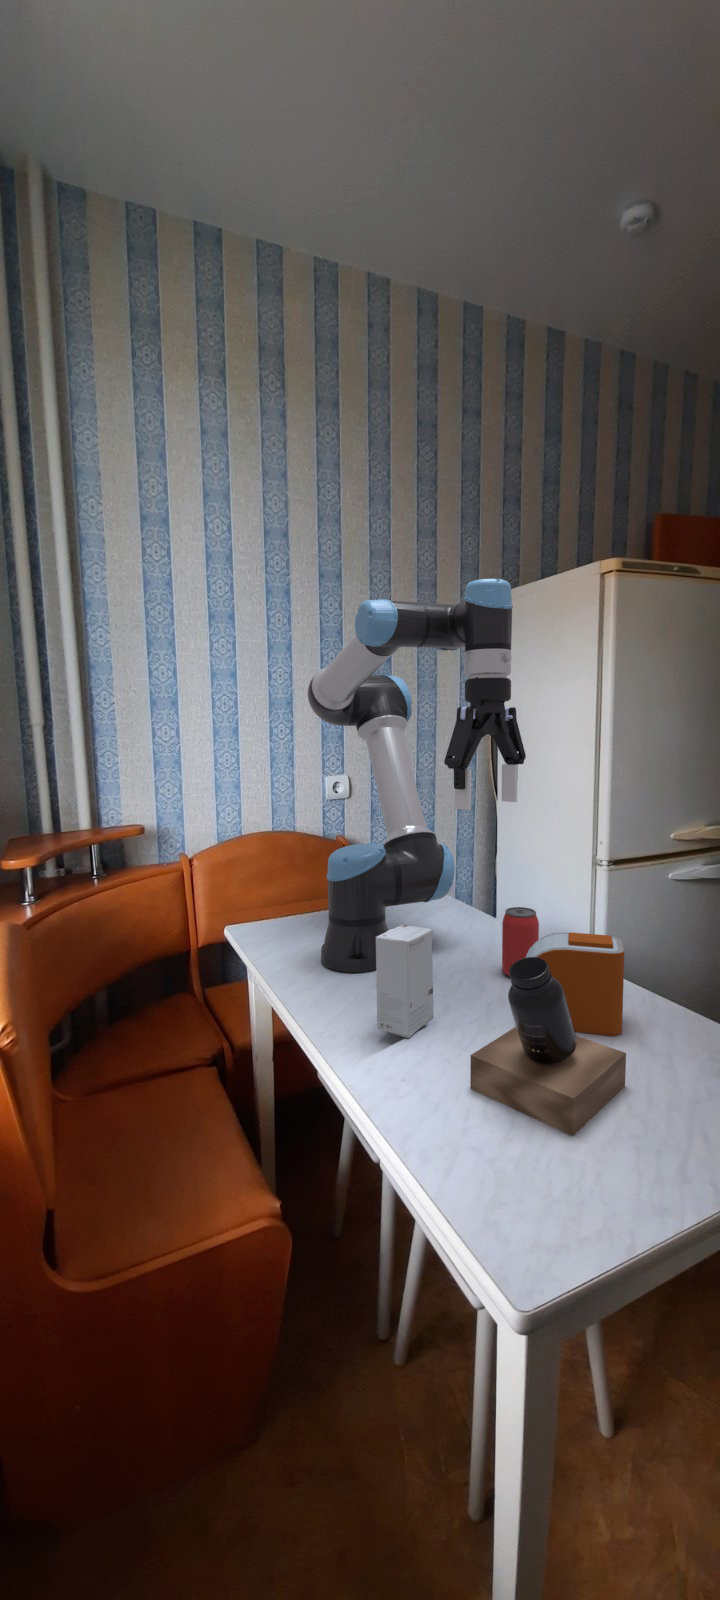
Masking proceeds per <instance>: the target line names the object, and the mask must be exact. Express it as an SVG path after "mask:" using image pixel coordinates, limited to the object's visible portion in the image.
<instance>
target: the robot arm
mask: <svg viewBox="0 0 720 1600" xmlns="http://www.w3.org/2000/svg"><path fill="white" fill-rule="evenodd" d="M464 589H465V590H464V596H463V600H464V601H461V602H458V603H452V604H449V603H438V602H437V603H433V602H417V601H402V600H389V599H385V598H382V599H367V600H364V601H361V603H360V605H359V606H358V608H357V612H356V614H355V618H354V632H355V634H353V636H352V637H351V639H350V640H349V641H348V642H347V643H346V644H345V646H344V647H343V648H342V649H341V650H340V652H338V654H337V655H336V656H335V658H334V659H333V660H332V661H331V662H330V664H329V665H328V666H326V667H324V668H321V669H320V670H318V671H317V672H316V673H315V674H314V676H313V677H312V679H311V680H310V682H309V685H308V687H307V688H308V689H307V698H308V699H307V700H308V703H309V706H310V708H311V709H312V711H313V713H314V714H316V716H317V717H318V718H320V719H321V720H322V721H323V722H326V723H328V724H331V725H332V726H333V725H334V726H339V727H343V726H345V727H346V726H347V727H356V731H357V736H358V737H359V738H360V739H361V740H363V741H365V742H366V747H367V750H368V755H369V759H370V764H371V768H372V772H373V777H374V781H375V785H376V791H377V795H378V799H379V803H380V808H381V812H382V817H383V822H384V825H385V830H386V834H387V838H386V839H385V841H384V842H383V844H381V843H377V842H376V843H375V842H367V843H364V842H363V843H356V844H350V845H347V846H343V847H340V848H338V849H335V851H333V852H332V853H330V854H329V857H328V861H327V871H326V872H327V873H326V879H327V898H328V900H327V901H328V925H327V929H326V932H325V937H324V941H323V942H324V943H323V944H322V946H321V949H320V958H321V959H320V962H321V961H322V962H321V963H322V964H323V965H324V966H325V967H327V968H328V969H332V970H333V971H339V972H343V973H344V972H345V973H367V972H374V971H376V937H377V936H379V935H381V934H383V933H385V932H387V931H388V930H389V929H388V926H387V922H386V919H387V918H386V909H387V907H393V906H394V907H395V906H401V905H403V906H404V905H409V904H410V905H411V904H418V903H429V902H431V901H436V900H440V899H443V898H445V897H446V896H447V895H448V894H449V892H450V890H451V888H452V886H453V882H454V879H455V861H454V859H455V858H454V856H453V853H452V851H451V849H450V848H449V847H448V846H447V845H446V844H443V843H438V839H437V835H436V833H435V831H432V830H431V829H429V828H428V827H427V825H426V820H425V817H424V812H423V809H422V803H421V801H420V800H421V799H420V795H419V793H418V788H417V785H416V781H415V780H416V779H415V776H414V773H413V768H412V764H411V761H410V756H409V752H408V747H407V743H406V739H405V737H404V733H403V732H405V730H406V729H407V727H408V723H409V721H410V719H411V716H412V712H413V707H412V704H413V700H412V695H411V691H410V688H409V687H408V685H407V683H406V682H405V681H404V680H403V679H402V678H400V677H399V676H396V675H389V674H388V675H387V674H383V673H381V674H376V675H375V674H374V673H375V672H376V671H377V670H378V669H379V668H380V667H381V666H382V665H383V664H384V663H386V661H387V660H388V659H389V658H390V657H391V656H392V655H393V654H394V653H395V652H396V651H398V649H400V648H403V647H404V648H431V649H436V650H438V651H442V652H443V651H446V652H447V651H457V650H458V649H461V648H464V676H465V677H467V679H466V680H465V681H464V701H465V702H467V703H470V705H469V706H459V707H457V708H456V720H455V723H454V724H455V725H454V728H453V731H452V735H451V737H450V741H449V744H448V748H447V751H446V754H445V758H444V760H443V761H444V765H445V766H447V769H448V770H449V769H450V770H451V769H452V770H453V788H454V810H460V811H461V810H463V811H471V810H472V769H469V765H470V764H471V761H472V759H473V757H474V756H475V753H476V751H477V749H478V747H479V744H480V742H481V740H482V738H484V737H486V735H489V736H491V737H492V738H493V740H494V742H495V745H496V747H497V749H498V750H499V753H500V754H501V757H502V759H503V762H504V763H505V764H503V763H502V764H501V802H508V803H517V802H518V779H519V777H518V773H519V771H518V770H519V769H518V767H519V765H524V762H525V760H526V758H527V755H526V751H525V746H524V744H523V741H522V736H521V732H520V731H521V730H520V728H519V724H518V721H517V719H518V718H517V708H516V707H515V706H513V707H506V706H505V703H506V702H509V701H511V699H512V680H511V679H510V678H508V676H510V675H511V673H512V631H513V630H512V629H513V607H514V605H513V602H512V600H513V599H512V586H511V583H510V582H509V581H507V580H504V579H500V578H483V579H482V578H481V579H475V580H472V581H470V582H468V583H467V584H466V587H465V588H464ZM373 674H374V675H373Z"/></svg>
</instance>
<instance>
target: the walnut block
mask: <svg viewBox="0 0 720 1600" xmlns="http://www.w3.org/2000/svg"><path fill="white" fill-rule="evenodd" d="M576 1039H577V1046H576V1049H575V1051H574V1053H573V1054H572V1055H571V1056H570V1057H569V1058H568V1059H566V1060H564V1061H562V1062H559V1063H556V1064H541V1063H537V1062H535V1061H533V1060H531V1059H530V1058H529V1057H528V1056H527V1055H526V1054H525V1052H524V1050H523V1047H522V1044H521V1041H520V1037H519V1034H518V1031H517V1027H516V1026H515V1027H513V1028H511V1029H510V1030H509V1031H507V1032H505V1033H503V1034H501V1036H498V1037H497V1038H496V1039H494V1040H493V1041H491V1042H489V1043H488V1044H486V1045H484V1046H482V1047H481V1048H480V1049H478V1050H477V1051H475V1052H474V1053H471V1054H470V1073H469V1074H470V1077H469V1078H470V1081H469V1082H470V1087H469V1088H470V1090H473V1091H474V1092H477V1093H479V1094H482V1095H484V1096H486V1097H488V1098H490V1099H492V1100H494V1101H496V1102H498V1103H500V1104H503V1105H505V1106H507V1107H509V1108H512V1109H513V1110H515V1111H518V1112H521V1113H522V1114H525V1115H527V1116H529V1117H531V1118H533V1119H535V1120H538V1121H539V1122H542V1123H544V1124H546V1125H547V1126H551V1127H553V1128H555V1129H557V1130H558V1131H560V1132H561V1131H562V1132H563V1133H565V1134H568V1135H570V1136H572V1137H574V1136H575V1135H576V1134H577V1133H578V1132H579V1131H580V1130H581V1129H582V1128H583V1127H584V1126H585V1125H586V1124H587V1123H588V1122H589V1121H590V1120H592V1118H593V1117H595V1116H596V1114H598V1113H599V1112H600V1111H601V1109H603V1108H604V1107H605V1106H606V1105H608V1104H609V1102H610V1101H611V1100H612V1099H613V1098H614V1097H616V1095H618V1094H619V1093H620V1092H621V1090H623V1089H624V1088H625V1087H626V1069H627V1068H626V1066H627V1053H626V1052H624V1051H622V1050H619V1049H616V1048H613V1047H610V1046H607V1045H605V1044H601V1043H598V1042H596V1041H593V1040H590V1039H587V1038H584V1037H582V1036H578V1035H576Z"/></svg>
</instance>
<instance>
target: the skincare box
mask: <svg viewBox="0 0 720 1600" xmlns="http://www.w3.org/2000/svg"><path fill="white" fill-rule="evenodd" d="M433 969H434V967H433V929H432V928H427V927H420V926H414V925H405V924H401V925H398V926H397V927H394V928H391V929H388V931H387V932H385V933H383V934H381V935H379V936H377V937H376V970H375V971H376V972H375V973H376V1015H377V1016H376V1017H377V1019H376V1025H377V1030H380V1031H384V1032H387V1033H391V1034H394V1035H396V1036H399V1037H403V1038H406V1039H409V1038H411V1037H412V1036H413V1035H414V1034H415V1033H416V1032H417V1031H419V1029H421V1028H423V1027H424V1026H425V1025H426V1024H428V1023H429V1022H431V1021H432V1020H433V1019H434V978H433V977H434V975H433V974H434V973H433V972H434V971H433Z"/></svg>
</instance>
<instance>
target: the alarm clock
mask: <svg viewBox="0 0 720 1600" xmlns="http://www.w3.org/2000/svg"><path fill="white" fill-rule="evenodd" d="M528 957H537V958H541V959H543V960H545V961H546V962H547V964H548V966H549V969H550V972H551V974H552V976H553V977H554V978H556V979H557V980H558V981H559V982H560V983H561V985H562V987H563V989H564V993H565V997H566V1000H567V1004H568V1008H569V1012H570V1015H571V1019H572V1023H573V1027H574V1030H575V1033H583V1034H591V1035H592V1034H593V1035H599V1036H606V1037H607V1036H610V1037H612V1036H613V1037H615V1036H618V1035H621V1034H622V1031H623V1015H624V1014H623V1011H624V1010H623V1008H624V980H625V979H624V976H625V948H624V944H623V941H622V939H620V938H619V937H615V936H612V935H606V934H596V933H595V934H594V933H583V932H582V933H581V932H571V931H570V932H555V933H554V932H553V933H550V934H547V935H544V936H542V937H541V938H539V940H538V941H536V942H535V943H534V944H533V945H532V946H531V948H530V949H529V950H528V953H527V955H526V957H525V958H528Z"/></svg>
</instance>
